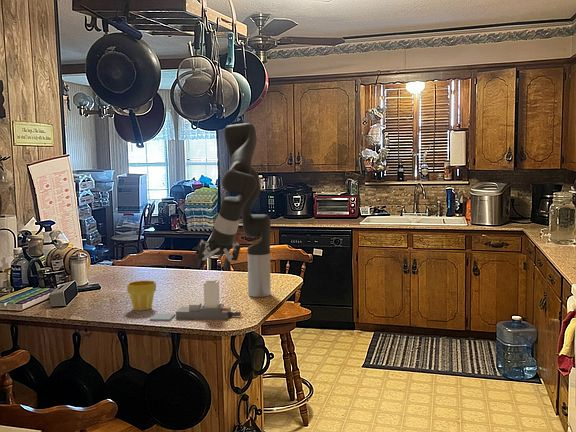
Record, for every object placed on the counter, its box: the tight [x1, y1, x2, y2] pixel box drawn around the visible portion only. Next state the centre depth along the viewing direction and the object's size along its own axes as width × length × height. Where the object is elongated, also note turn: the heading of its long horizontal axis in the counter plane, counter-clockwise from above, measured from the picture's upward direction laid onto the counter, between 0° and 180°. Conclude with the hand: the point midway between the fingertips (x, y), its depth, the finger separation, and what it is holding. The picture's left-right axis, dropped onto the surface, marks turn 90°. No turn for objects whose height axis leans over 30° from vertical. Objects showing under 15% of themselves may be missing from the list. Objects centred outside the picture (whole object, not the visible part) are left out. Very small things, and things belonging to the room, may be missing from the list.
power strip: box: [175, 301, 242, 320], centre depth 200 cm, size 7×22×4 cm, turn 85°
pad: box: [149, 313, 176, 322], centre depth 199 cm, size 7×7×1 cm
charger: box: [203, 278, 221, 308], centre depth 200 cm, size 4×4×11 cm
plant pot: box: [126, 280, 157, 311], centre depth 213 cm, size 10×10×10 cm
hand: (212, 268), depth 192 cm, fingers open, 8 cm apart
